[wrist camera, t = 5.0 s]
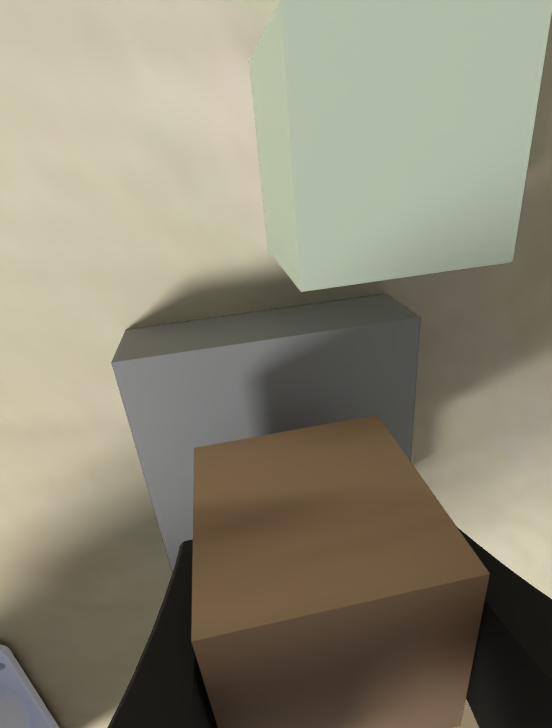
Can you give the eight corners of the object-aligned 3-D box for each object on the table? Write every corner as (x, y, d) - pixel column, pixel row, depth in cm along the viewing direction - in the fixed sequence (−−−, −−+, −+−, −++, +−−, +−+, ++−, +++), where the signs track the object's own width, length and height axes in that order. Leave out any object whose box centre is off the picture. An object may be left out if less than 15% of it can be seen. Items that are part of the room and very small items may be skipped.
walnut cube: (375, 543, 14) (460, 725, 9) (222, 575, 13) (235, 784, 9) (377, 415, 12) (490, 573, 7) (193, 447, 11) (191, 641, 7)
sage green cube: (414, 230, 14) (512, 262, 10) (267, 249, 14) (300, 291, 9) (423, 48, 12) (556, -19, 8) (248, 62, 11) (280, -1, 7)
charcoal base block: (377, 481, 19) (406, 533, 17) (178, 519, 18) (174, 580, 16) (381, 290, 15) (420, 317, 13) (127, 325, 14) (111, 362, 12)
